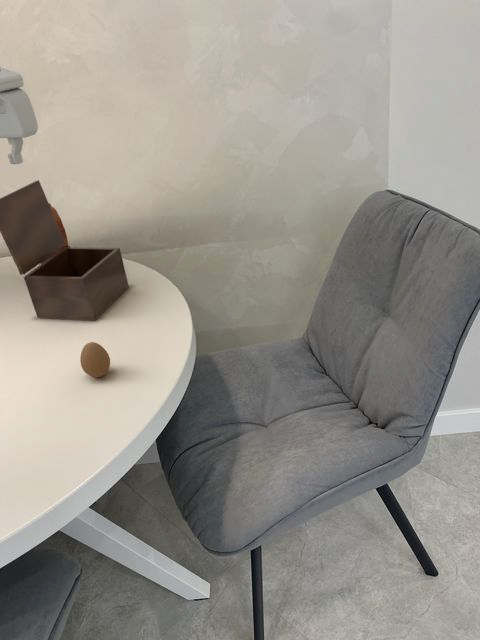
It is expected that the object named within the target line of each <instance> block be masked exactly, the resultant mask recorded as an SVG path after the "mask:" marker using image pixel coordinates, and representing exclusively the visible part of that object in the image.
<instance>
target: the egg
mask: <svg viewBox="0 0 480 640" xmlns="http://www.w3.org/2000/svg"><path fill="white" fill-rule="evenodd" d="M79 359H80V360H79V361H80V366H81V369H82V370H83V372H84V373H85V374H86V375H88V376H89V377H93V378H101V377H103V376H105V375H106V374H107V373H108V372H109V369H110V368H111V357H110V354H109V353H108V352H107V350H106V349H105V348H104V346H102V345H101V344H100V343H98V342H95V341H90V342H88V343H86V344H84V346H83V347H82V349H81V353H80V358H79Z"/></svg>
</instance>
